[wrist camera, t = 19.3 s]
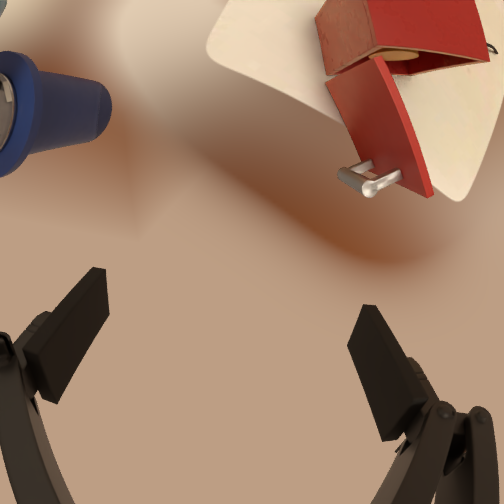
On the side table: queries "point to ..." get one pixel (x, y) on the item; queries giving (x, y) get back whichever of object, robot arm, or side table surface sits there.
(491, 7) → the side table surface
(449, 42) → the cabinet
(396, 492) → the robot arm
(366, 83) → the door
